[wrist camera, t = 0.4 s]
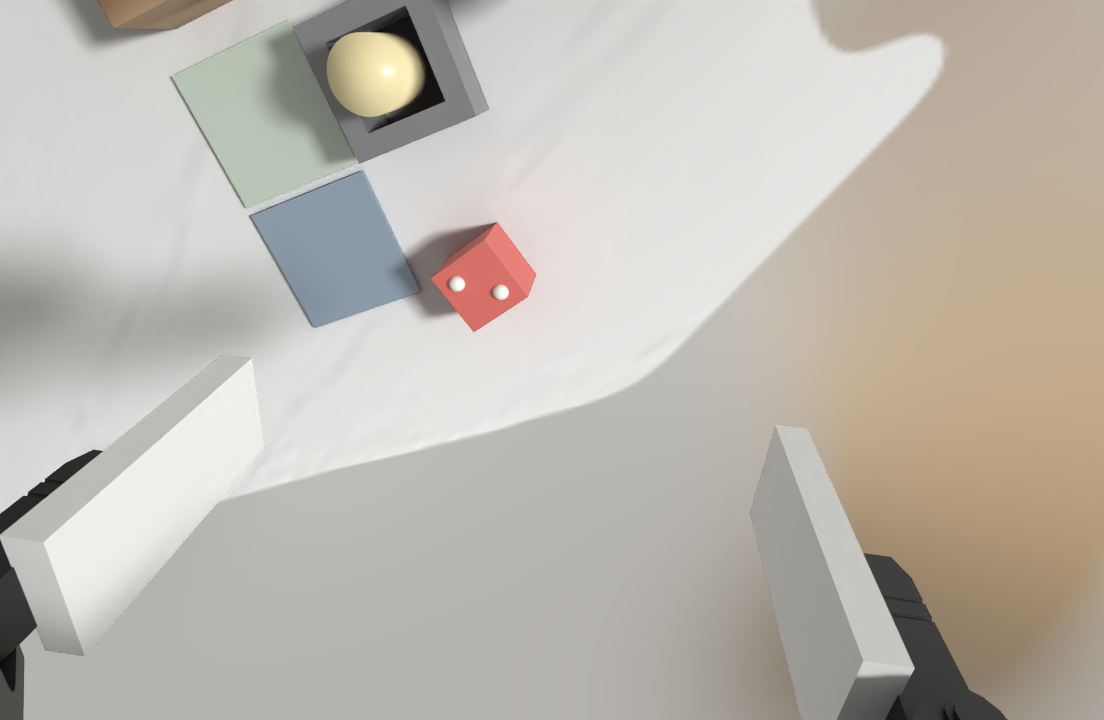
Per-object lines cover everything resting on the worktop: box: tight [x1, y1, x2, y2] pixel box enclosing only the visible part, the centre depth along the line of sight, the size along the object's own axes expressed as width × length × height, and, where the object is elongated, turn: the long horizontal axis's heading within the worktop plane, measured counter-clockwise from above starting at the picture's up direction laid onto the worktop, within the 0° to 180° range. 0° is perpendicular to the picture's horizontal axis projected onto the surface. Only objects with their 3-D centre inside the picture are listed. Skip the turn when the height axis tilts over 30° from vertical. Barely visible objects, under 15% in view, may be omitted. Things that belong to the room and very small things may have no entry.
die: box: [431, 222, 536, 332], centre depth 39 cm, size 4×4×4 cm
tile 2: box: [251, 171, 421, 328], centre depth 41 cm, size 8×8×1 cm
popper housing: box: [293, 0, 489, 164], centre depth 34 cm, size 7×7×4 cm
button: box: [327, 32, 426, 117], centre depth 32 cm, size 4×4×4 cm
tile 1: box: [172, 20, 358, 208], centre depth 38 cm, size 8×8×1 cm
